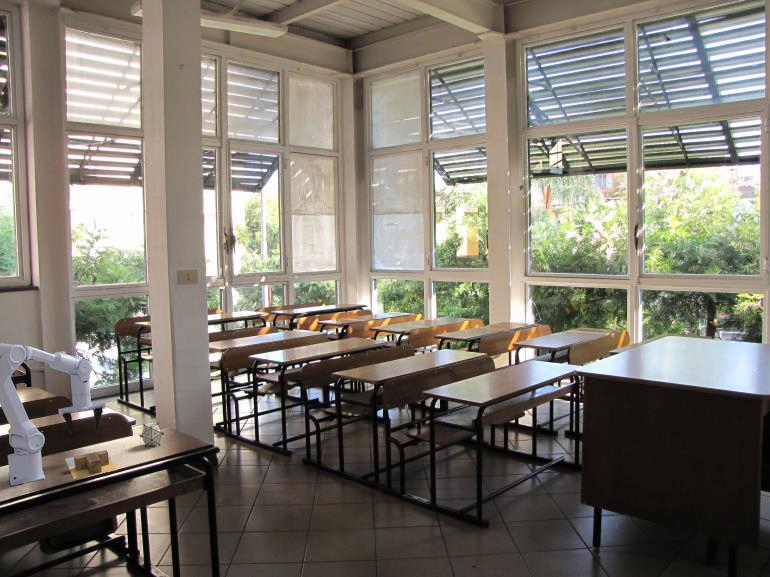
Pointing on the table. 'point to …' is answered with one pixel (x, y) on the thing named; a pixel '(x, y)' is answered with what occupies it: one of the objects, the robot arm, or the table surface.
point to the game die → (151, 434)
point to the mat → (85, 472)
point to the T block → (91, 461)
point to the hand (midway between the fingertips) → (84, 432)
